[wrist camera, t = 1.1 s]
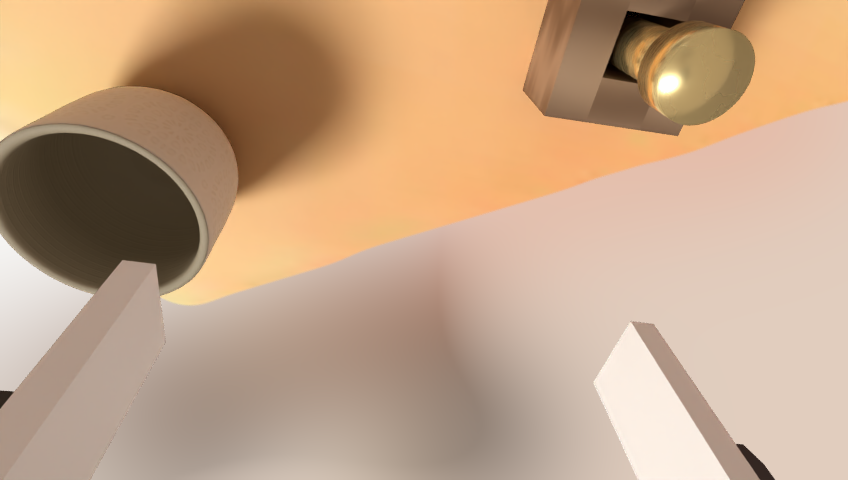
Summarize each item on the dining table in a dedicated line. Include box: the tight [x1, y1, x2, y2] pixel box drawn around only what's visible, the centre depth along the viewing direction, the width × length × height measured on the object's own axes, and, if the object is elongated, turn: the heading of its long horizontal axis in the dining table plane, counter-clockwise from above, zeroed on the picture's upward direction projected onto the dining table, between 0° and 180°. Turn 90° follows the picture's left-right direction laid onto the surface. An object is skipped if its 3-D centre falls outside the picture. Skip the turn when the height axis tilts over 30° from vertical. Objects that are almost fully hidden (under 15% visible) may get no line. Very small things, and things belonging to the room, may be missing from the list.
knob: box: [608, 17, 755, 125], centre depth 27 cm, size 5×5×9 cm
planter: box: [0, 86, 238, 295], centre depth 32 cm, size 12×12×11 cm
